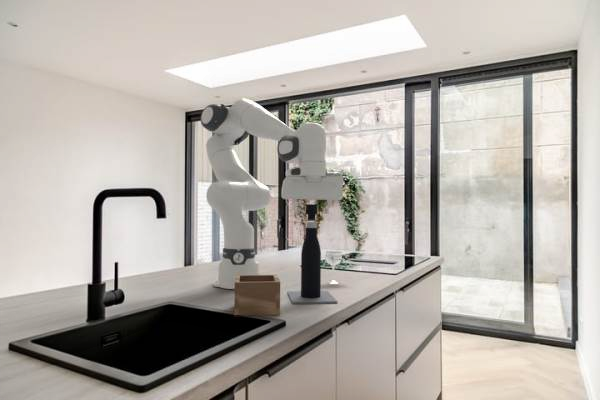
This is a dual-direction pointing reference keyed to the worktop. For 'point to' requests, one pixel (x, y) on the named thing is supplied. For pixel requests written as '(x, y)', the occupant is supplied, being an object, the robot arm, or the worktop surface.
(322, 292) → the grey mat
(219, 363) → the worktop surface
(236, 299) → the walnut crate
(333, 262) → the wineglass
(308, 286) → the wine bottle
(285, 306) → the worktop surface
